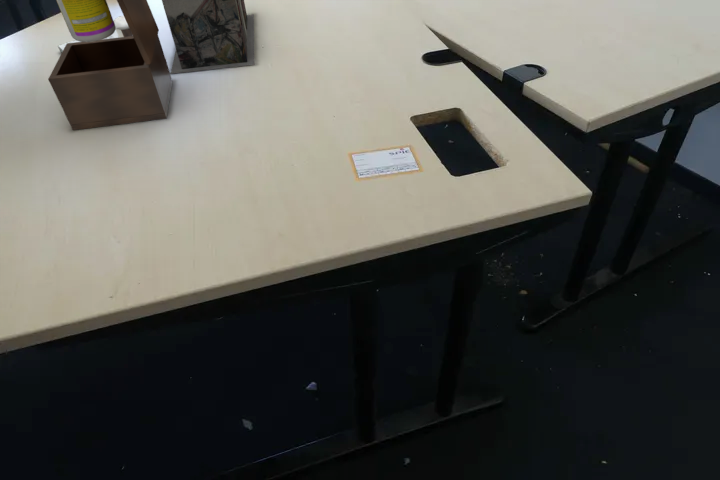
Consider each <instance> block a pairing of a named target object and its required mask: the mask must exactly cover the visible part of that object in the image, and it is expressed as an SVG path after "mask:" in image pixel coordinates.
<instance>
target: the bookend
mask: <svg viewBox="0 0 720 480" xmlns="http://www.w3.org/2000/svg"><path fill="white" fill-rule="evenodd" d="M161 3H162V6H163V9H164V10H163V11H164V13H165V16H166V19H167V23H168V26H169V31H170V33H171V34H170V35H171V38H172V41H173V43H174V47H175V51H174V55H173V60H172V65H171V69H170V75H171V74H172V75H173V74H181V73H183V74H184V73H189V72H200V71H209V70H218V69H219V70H220V69H227V68H236V67H238V68H239V67H245V66H246V67H247V66H254V65H255V61H256V60H255V15H254V14H247V9H246V4H245V0H161Z"/></svg>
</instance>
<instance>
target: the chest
mask: <svg viewBox="0 0 720 480" xmlns="http://www.w3.org/2000/svg"><path fill="white" fill-rule="evenodd" d="M66 43H67V44H66V46H65V48H64V50H63V52H62V53H60V56H59V57H58V60H57V61H56V63H55V66H54V67H53V69H52V71H51V72H50V75H49V76H48V82H49V84H50V86H51V88H52V91H53V92H54V94H55V97H56V99H57V100H58V103H59V105H60V107H61V109H62V110H63V112H64V115H65V117H66V119H67V120H68V123H69V125H70V128H71V129H72V131H79V130H85V129H94V128H103V127H108V126H109V127H110V126H117V125H125V124H133V123H140V122H148V121H157V120H164V119H167V117H168V111H169V107H170V100H171V93H172V87H173V82H174V81H173V78H172V75H171V71H170V70H169V66H168V62H167V59H166V56H165V53H164V49H163V46H162V44H161V40H160V37H159V35H158V36H157V40H156V44H155V48H154V53H153V57H152V61H151V64H148V65H146V64H145V62H144V60H143V57H142V55H141V53H140V51H139V48H138V46H137V44H136V42H135V40H134V37H133V36H129V37H120V38H111V39H102V40H98V41H94V42H75V43H68V42H66Z"/></svg>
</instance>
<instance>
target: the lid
mask: <svg viewBox="0 0 720 480" xmlns="http://www.w3.org/2000/svg"><path fill="white" fill-rule="evenodd" d="M116 1H117V4H118V6H119V9H120V11H121V13H122V16H124V17H125V20H126V22H127V24H128V26H129V28H130V31H131V33H132V35H133V37H134V40H135V42H136V44H137V46H138V48H139V51H140V53H141V55H142V57H143V60H144V62H145V64H146V65H148V64H151V61H152V57H153V53H154V48H155V44H156V40H157V36H158V37H159V30H160V29H159V26H158V24H157V22H156V20H155V16H154V14H153V12H152V10H151V7H150V5H149V3H148V0H116Z"/></svg>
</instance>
